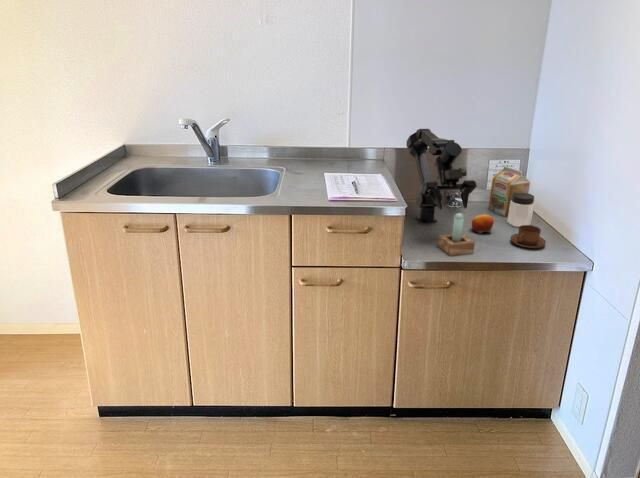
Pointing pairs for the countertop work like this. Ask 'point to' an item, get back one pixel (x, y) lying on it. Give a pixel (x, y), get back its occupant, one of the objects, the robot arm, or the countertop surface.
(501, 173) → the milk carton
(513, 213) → the jar
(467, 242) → the wooden square socket block
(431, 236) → the countertop surface
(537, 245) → the cup and saucer
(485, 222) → the fruit
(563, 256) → the countertop surface
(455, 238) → the dowel
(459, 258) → the countertop surface
